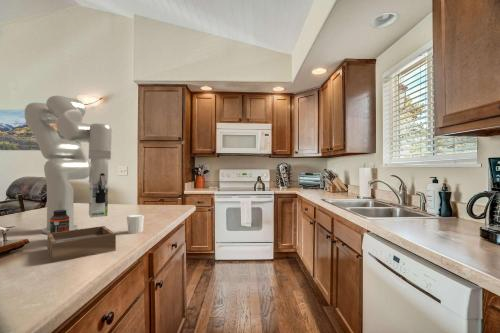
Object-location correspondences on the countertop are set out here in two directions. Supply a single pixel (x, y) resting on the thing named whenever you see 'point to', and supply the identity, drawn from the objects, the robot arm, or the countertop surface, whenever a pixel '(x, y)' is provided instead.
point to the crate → (80, 243)
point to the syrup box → (94, 207)
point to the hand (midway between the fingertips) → (98, 201)
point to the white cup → (135, 223)
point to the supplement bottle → (59, 221)
